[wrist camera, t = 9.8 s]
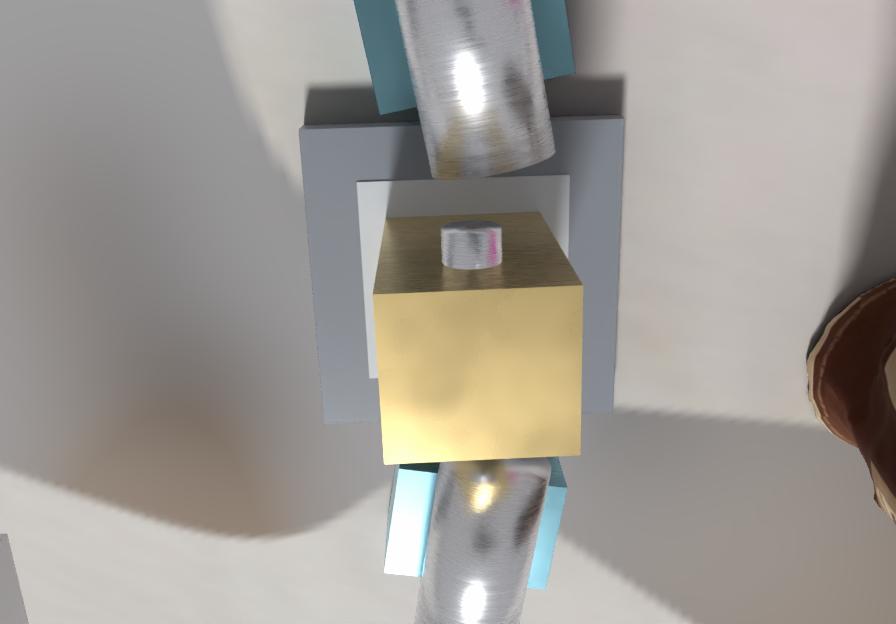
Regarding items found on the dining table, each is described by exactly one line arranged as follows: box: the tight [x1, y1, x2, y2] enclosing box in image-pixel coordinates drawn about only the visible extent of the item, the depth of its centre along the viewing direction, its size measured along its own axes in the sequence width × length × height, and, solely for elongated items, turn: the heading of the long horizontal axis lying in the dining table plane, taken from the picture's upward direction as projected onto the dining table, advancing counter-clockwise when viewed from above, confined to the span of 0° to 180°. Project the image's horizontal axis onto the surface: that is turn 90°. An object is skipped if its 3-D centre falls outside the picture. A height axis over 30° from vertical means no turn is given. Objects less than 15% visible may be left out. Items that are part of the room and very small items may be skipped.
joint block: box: [373, 211, 583, 464], centre depth 22 cm, size 6×4×7 cm
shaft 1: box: [354, 0, 576, 180], centre depth 21 cm, size 7×5×6 cm
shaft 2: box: [384, 456, 567, 624], centre depth 26 cm, size 7×5×6 cm
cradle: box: [299, 115, 624, 424], centre depth 26 cm, size 9×9×1 cm
